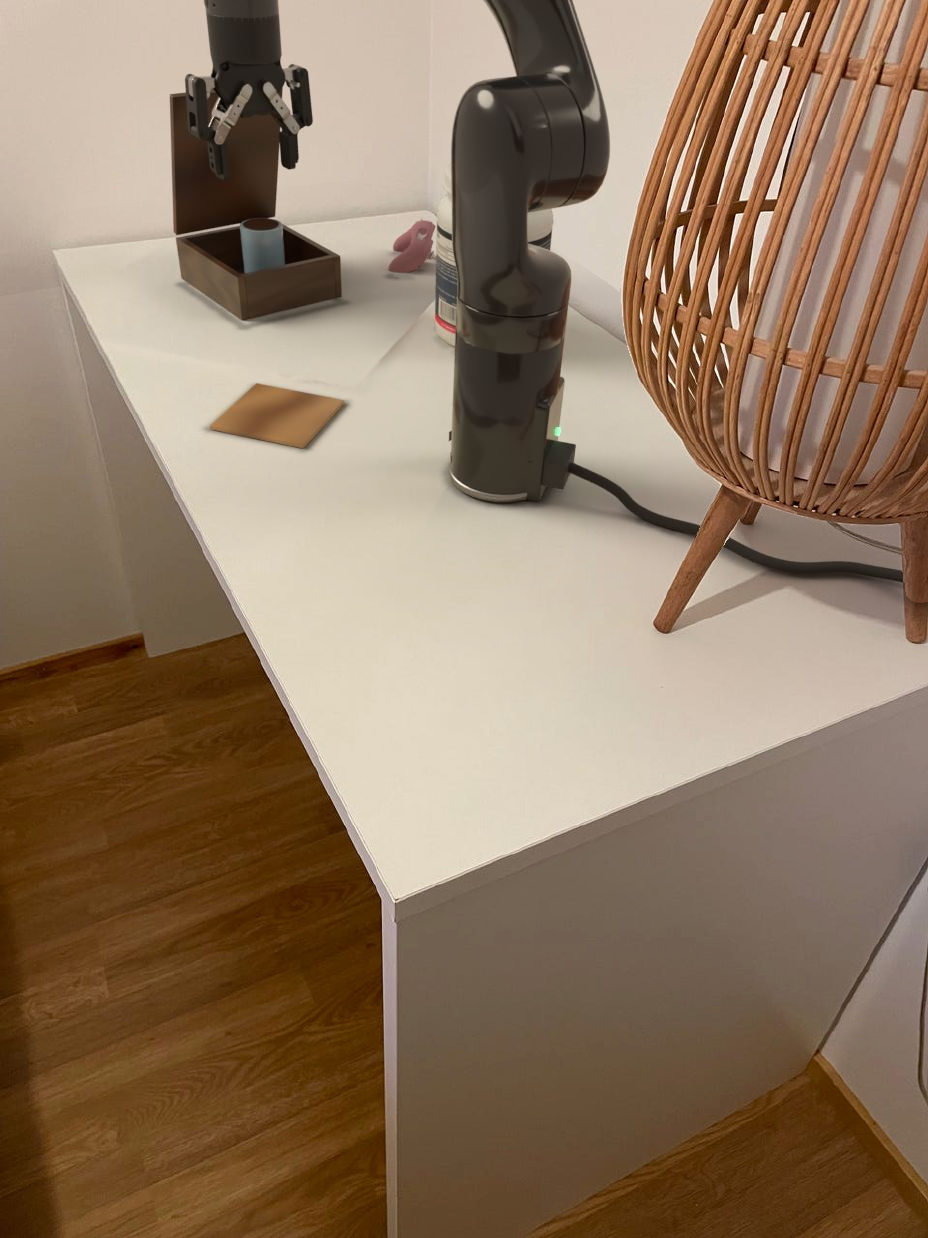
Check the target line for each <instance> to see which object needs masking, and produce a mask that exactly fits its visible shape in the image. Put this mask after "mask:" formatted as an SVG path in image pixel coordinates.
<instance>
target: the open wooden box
mask: <svg viewBox="0 0 928 1238" xmlns="http://www.w3.org/2000/svg"><path fill="white" fill-rule="evenodd" d="M282 226H283V240H284V254H285V265H282V266H277V267H272V268H268V269H263V270H258V271H254V272H249V273H244V264H243V254H242V244H241V234H240V225H236V226H230V227H226V228H225V227H224V228H220V229H219V228H218V229H214V230H210V231H204V232H199V233H193V234H188V235H182V236H177V237H175V242H176V250H177V251H176V252H177V256H178V264H179V272H180V277H181V280H183V281H184V282H186V283H187V284H189V285H190V286H192V287H193V288H194V289H196V290H197V291H199V292H201V293H202V294H203V295H205V296H206V297H207V298H209V299H210V300H212V301H213V302H214V303H216V304H217V305H219V306H220V307H222V308H223V309H224V310H226V311H227V312H229V313H230V314H232V315H233V316H234V317H236V318H238V319H239V320H240V321H242V322H243V321H248V320H252V319H256V318H260V317H264V316H268V315H273V314H276V313H281V312H285V311H289V310H292V309H293V310H294V309H297V308H301V307H305V306H306V307H307V306H310V305H314V304H318V303H322V302H326V301H332V300H334V299H338V298H342V297H343V294H342V293H343V291H342V290H343V289H342V264H341V255H339V254H338V253H336V252H334V251H332V250H331V249H329V248H327V247H325V246H324V245H321V244H320V243H318V242H316V241H315V240H312V239H310V238H309V237H307V236H305V235H303V234H301V233H300V232H298V231H296V230H295V229H293V228H291V227H289V226H287V225H286V224H283V223H282Z"/></svg>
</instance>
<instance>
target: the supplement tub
mask: <svg viewBox="0 0 928 1238" xmlns="http://www.w3.org/2000/svg"><path fill="white" fill-rule="evenodd" d="M442 184H443V185H442V187H443V189H444V190H445V191H446V195H445V196H444V197H442V199H441V201H440V202H439V204H438V207H437V213H436V244H435V245H436V249H435V253H436V254H435V291H434V292H435V295H434V297H435V299H434V300H435V301H434V326H435V330H436V332H437V334H438V335H439V337H440V338H441V339H442V340H443V341H444V342H446V343H447V344H449V345H450V346H452V347H454V348H455V334H456V310H457V286H458V277H457V270H456V265H455V260H454V255H453V248H452V194H451V164H449V165H448V166H447V167H446V168H445V170H444V181H443V183H442ZM552 209H553V208H552ZM552 209H547V210H541V211H535V212H529V213H528V217H527V232H528V244H532V245H536V246H539V247H542V248H545V249H548V250H550V251H551V246H552V236H553V226H554V213H553V210H552Z"/></svg>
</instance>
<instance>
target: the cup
mask: <svg viewBox="0 0 928 1238" xmlns="http://www.w3.org/2000/svg"><path fill="white" fill-rule="evenodd" d="M282 224H283V223H282V222H281V221H280V220H277V219H273V218H254V219H248V220H245V221H243V222H241V223H240V224H239V226H240V234H241V244H242V254H243V264H244V273H249V272H254V271H258V270H263V269H268V268H272V267H277V266H282V265H285V254H284V240H283V226H282Z"/></svg>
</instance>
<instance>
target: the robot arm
mask: <svg viewBox="0 0 928 1238" xmlns="http://www.w3.org/2000/svg"><path fill="white" fill-rule="evenodd" d="M482 1H483V2H484V4H485V5H486V6H487V8H488V10H489V12H490V13H491V15H492V16H493V18H494V19H495V22H496V24H497V26H498V28H499V30H500V32H501V34H502V36H503V38H504V42H505V44H506V46H507V50H508V53H509V56H510V60H511V62H512V66H513V69H514V73H515V76H505V77H503V76H502V77H495V78H494V77H493V78H488V79H481V80H479V81H476V82H474V83H473V84H471V85H470V86H469V87H468V88H467V89H466V90H465V91H464V92H463V94H462V96H461V97H460V100H459V102H458V104H457V107H456V110H455V114H454V117H453V124H452V128H451V141H450V165H451V194H452V248H453V255H454V260H455V265H456V270H457V277H458V286H457V310H456V334H455V347H454V358H453V359H454V361H453V363H454V364H453V387H452V412H451V413H452V414H451V430H450V431H448V442H451V443H450V455H449V465H448V476H449V479H450V481H451V483H452V484H453V486H454V487H455V488H457V489H458V490H459V491H460V492H462V493H464V494H465V495H468V496H470V497H472V498H476V499H479V500H481V501H488V502H494V503H514V502H521V501H532V502H540V500H541V499H542V496H543V494H544V492H545V490H546V489H547V487H549V488H553V489H559V490H564V488H565V486H566V484H567V482H568V479H569V477H570V475H571V474H572V475H574V476H576V477H577V478H580V479H582V480H585V481H587V482H590V483H591V484H593V485H596V486H597V487H599V488H601V489H603V490H604V491H607V492H608V493H610V494H611V495H613V496H614V497H615V498H616V499H617V500H618V501H619V502H620V503H621V505H623V506H624V508H626V509H627V510H628V511H629V512H630V513H632V514H633V515H635V516H636V517H638V518H640V519H642V520H644V521H646V522H648V523H651V524H654V525H656V526H659V527H663V528H666V529H670V530H673V531H678V532H681V533H686V534H690V535H693V536H696V534H697V532H698V531H699V528H700V526H701V525H700V524H696V523H693V522H689V521H685V520H681V519H678V518H673V517H668V516H666V515H662V514H659V513H657V512H655V511H652V510H650V509H648V508H646V507H644V506H642V505H640V504H639V503H638V502H637V501H635V500H634V499H633V498H632V496H630V494H629V493H628V492H627V491H626V490H625V489H624V488H622V487H621V486H620V485H618V484H617V483H615V482H614V481H612V480H611V479H609V478H607V477H605V476H603V475H602V474H599V473H597V472H595V471H592V470H591V469H588V468H586V467H583V466H581V465H579V464H577V463H575V456H576V450H577V449H576V448H577V444H576V443H570V442H566V441H561V440H559V437H560V434H561V427H560V426H561V425H560V424H561V416H562V409H563V399H564V391H565V378H564V377H563V376H561V372H562V364H563V356H564V346H565V337H566V330H567V329H566V328H567V322H568V321H567V320H568V311H569V301H570V295H571V287H572V270H571V267H570V264H569V263H568V261H567V260H566V259H565V258H563V257H562V256H560V255H559V254H558V253H556V252H554V251H552V250H551V249H550V250H548V249H545V248H542V247H539V246H536V245H532V244H528V232H527V217H528V213H529V212H535V211H541V210H547V209H557V208H564V207H569V206H573V205H578V204H581V203H583V202H586V201H588V200H590V199H592V198H593V197H594V196H595V195H596V194H597V193H598V191H599V190H600V188H601V187H602V186H603V183H604V181H605V178H606V176H607V173H608V169H609V164H610V157H611V135H610V126H609V120H608V119H609V118H608V113H607V109H606V104H605V101H604V100H605V99H604V97H603V92H602V89H601V85H600V82H599V79H598V76H597V72H596V69H595V66H594V63H593V59H592V56H591V54H590V51H589V47H588V45H587V42H586V41H587V40H586V38H585V35H584V32H583V28H582V26H581V23H580V20H579V18H578V13H577V10H576V7H575V3H574V0H482ZM203 5H204V7H205V14H206V15H205V16H206V25H207V35H208V43H209V44H208V45H209V51H210V52H209V54H210V58H211V62H212V69H211V74H210V76H209V75H208V76H207V75H206V76H197V75H195V74H192V73H188V74H186V75H185V78H184V86H185V87H184V88H185V93H186V102H187V115H188V129H189V133H190V134H191V135H193V136H195V137H197V138H199V139H201V140H206V142H207V145H208V153H209V161H210V168H211V170H212V172H214V173H215V174H216V176H217V177H218V178H220V179H222V180H226V179H229V178H230V175H229V165H228V155H227V146H226V144H224V141H225V139H226V137H227V135H228V133H229V131H230V129H231V127H233V126H234V125H235V124H236V122H237V120H238V118H239V116H240V117H242V118H247V117H251V116H253V115H255V114H257V115H262V116H263V115H268V113H269V114H270V115H272V116H273V118H274V119H275V120H276V122H277V123H278V124H279V126H280V129H281V130H280V132H279V141H280V143H279V156H280V163H281V166H282V167H283V168H285V169H286V170H289V171H290V170H295V169H296V166H297V164H298V163H299V159H300V153H299V139H298V138H299V137H298V135H299V132H300V130H302V129H303V128H305V127H310V126H311V125H313V122H314V117H313V108H312V98H311V97H312V95H311V87H310V76H309V71H308V69H307V68H305V67H303V66H300V65H298V64H294V63H290V64H289V65H288V67H285V68H283V66H282V63H281V62H282V61H281V60H282V55H283V51H282V38H281V23H280V22H281V21H280V7H279V0H203ZM285 84H286V87H287V88H289V93H290V95H289V96H290V100H291V101H290V102H291V103H290V104H291V109H290V108H289V107H288V106H287V104H286V103H285V101H284V100H283V98H282V99H281V97H280V96H279V94H280V92H281V90H282V88H283V87H284V85H285ZM212 89H214V91H215V92H216V93H217V95H218V96H219V97H218V99H217V101H216V103H215V105H214V108H213V110H212V112H211V115H212V117H211V119H210V121H209V123H208V110H207V99H209V97H210V92H211V90H212ZM227 108H228V110H227ZM226 110H227V112H226ZM291 111H292V112H291ZM728 537H729V539H728V540H727V541H726V543H725V545H724V546H722V547H723V548H725V549H726V550H729V551H730V552H732V553H735V554H736V555H738V556H740V557H742V558H744V559H746V560H748V561H750V562H752V563H755V564H757V565H759V566H763V567H766V568H769V569H771V570H776V571H779V572H780V571H781V572H785V573H793V574H807V575H808V574H830V573H845V574H855V575H861V576H867V577H871V578H877V579H882V580H888V581H894V582H899V583H902V584H904V583H903V572H902V571H903V570H900V569H896V568H892V567H891V568H889V567H884V566H879V565H872V564H868V563H863V562H855V561H847V560H846V561H843V560H828V561H795V560H786V559H781V558H777V557H774V556H770V555H767V554H765V553H762V552H760V551H758V550H755V549H753V548H751V547H750V546H747V545H745V544H743V543H741V542H740V541H737V540H735V539H734V538H732V537H730V536H728Z"/></svg>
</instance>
